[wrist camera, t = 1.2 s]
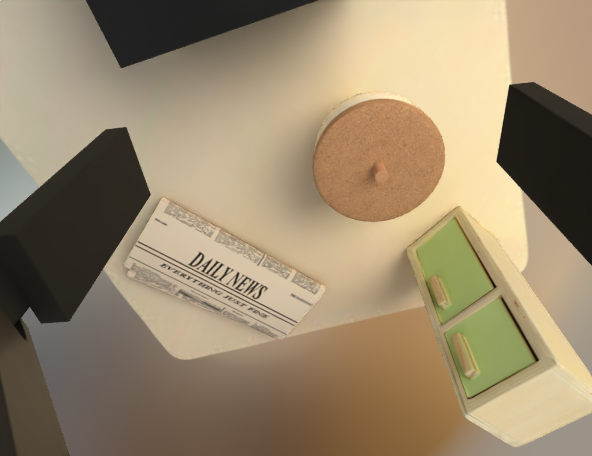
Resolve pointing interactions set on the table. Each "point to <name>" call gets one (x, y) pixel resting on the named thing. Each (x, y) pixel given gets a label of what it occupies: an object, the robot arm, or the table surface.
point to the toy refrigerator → (496, 335)
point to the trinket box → (377, 157)
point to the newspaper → (219, 272)
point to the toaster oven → (175, 22)
